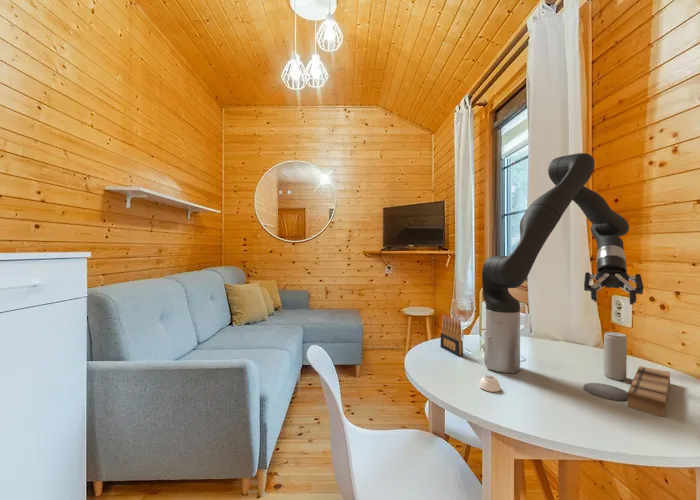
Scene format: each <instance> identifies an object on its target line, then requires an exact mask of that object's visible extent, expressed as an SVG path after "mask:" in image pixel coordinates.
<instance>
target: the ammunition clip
mask: <svg viewBox="0 0 700 500" xmlns="http://www.w3.org/2000/svg"><path fill="white" fill-rule="evenodd" d="M462 335H463V333H462V324H461V320H460V319H457V318H454V317H451V315H450V316H448V315H447V314H444V313H443V315H442V322H441V332H440V344H439V345H440V348H442V349H443V350H446V351H447V352H449V353H451V354H453V355H455V356H457V357H463V356H464V345H463V344H464V343H463V342H464V341H463V339H462V338H463V336H462Z"/></svg>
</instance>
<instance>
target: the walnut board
mask: <svg viewBox="0 0 700 500" xmlns="http://www.w3.org/2000/svg"><path fill="white" fill-rule="evenodd" d="M670 385H671V371H665V370H661V369H655V368H651V367H647V366H641V365H639V366H638V368H637V371H636V372H635V375H634V377H633V379H632V382H631V385H629V389H628V391H627V392H628V400H627V402H626V403H627V407H628V408H632V409H636V410H639V411H643V412H645V413H650V414H654V415H657V416H662V417H666V412H667V407H668V406H667V405H668V399H669V393H670V387H671V386H670Z"/></svg>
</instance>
